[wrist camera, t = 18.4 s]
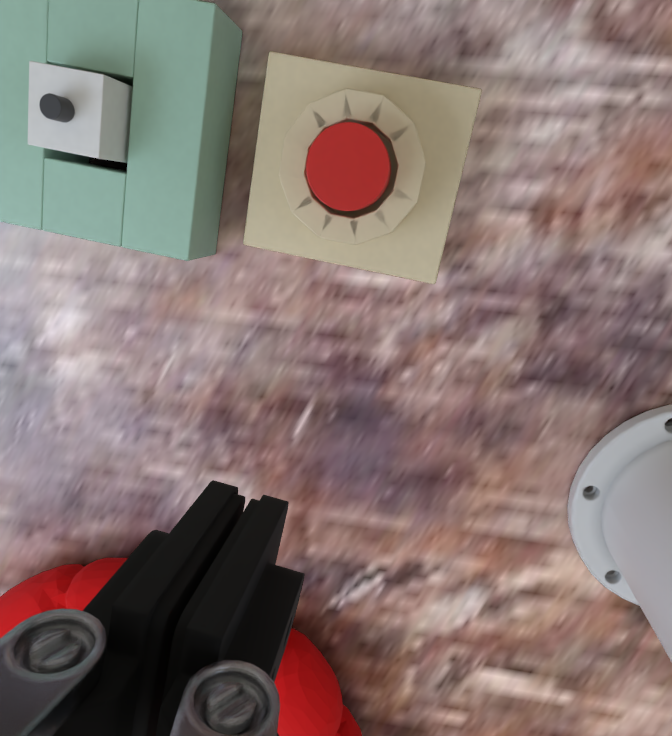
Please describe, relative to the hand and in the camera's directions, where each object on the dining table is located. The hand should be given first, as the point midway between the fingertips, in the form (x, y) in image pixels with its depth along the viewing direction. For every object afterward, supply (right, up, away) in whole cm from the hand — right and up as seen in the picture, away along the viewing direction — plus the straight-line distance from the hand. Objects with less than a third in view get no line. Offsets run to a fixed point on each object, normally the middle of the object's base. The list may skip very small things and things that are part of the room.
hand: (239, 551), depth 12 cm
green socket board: (-13, +17, +19) cm, 29 cm away
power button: (+3, +13, +14) cm, 19 cm away
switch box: (+3, +14, +17) cm, 22 cm away
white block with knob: (-9, +17, +18) cm, 26 cm away
